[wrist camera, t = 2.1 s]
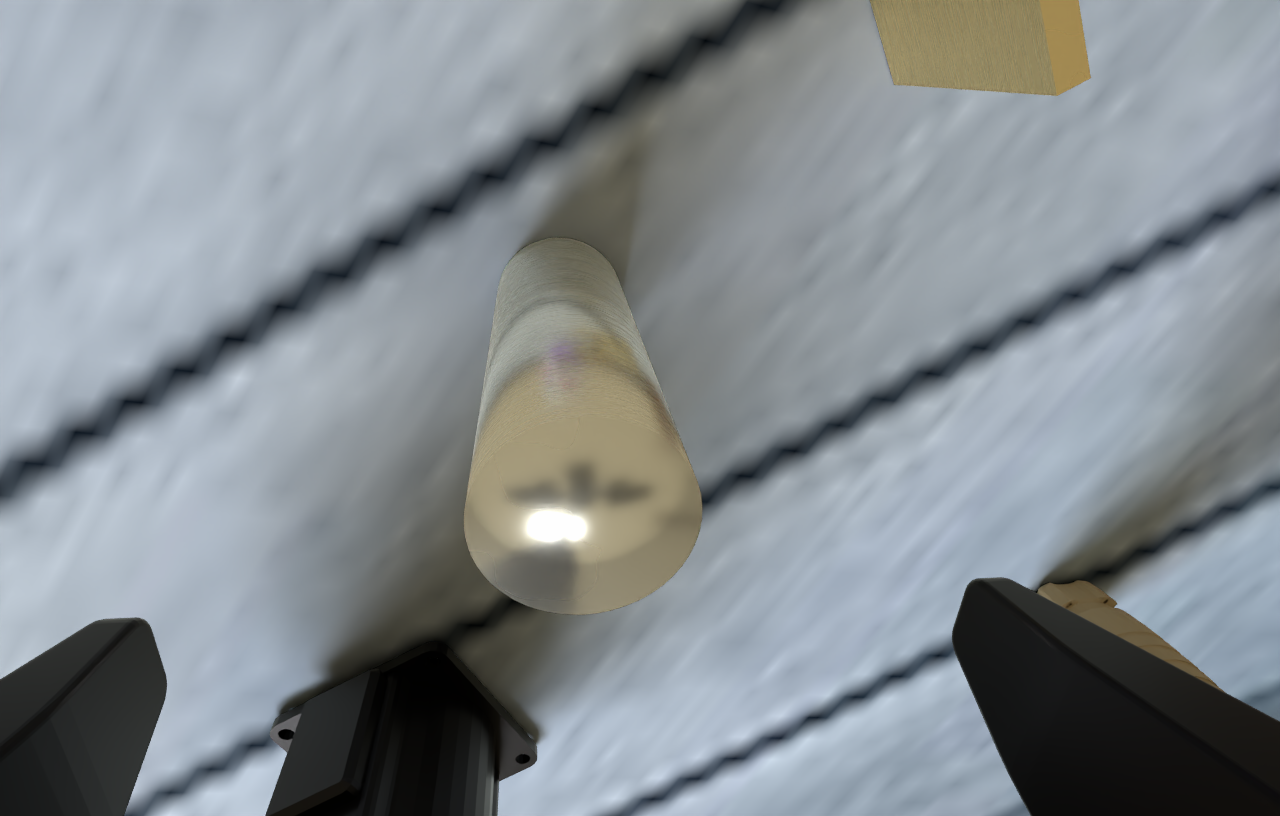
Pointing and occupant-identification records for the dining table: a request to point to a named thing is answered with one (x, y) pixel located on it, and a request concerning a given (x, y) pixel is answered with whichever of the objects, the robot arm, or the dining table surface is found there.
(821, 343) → the dining table surface
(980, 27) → the hinge
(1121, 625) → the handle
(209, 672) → the dining table surface
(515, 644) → the dining table surface
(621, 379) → the pin
